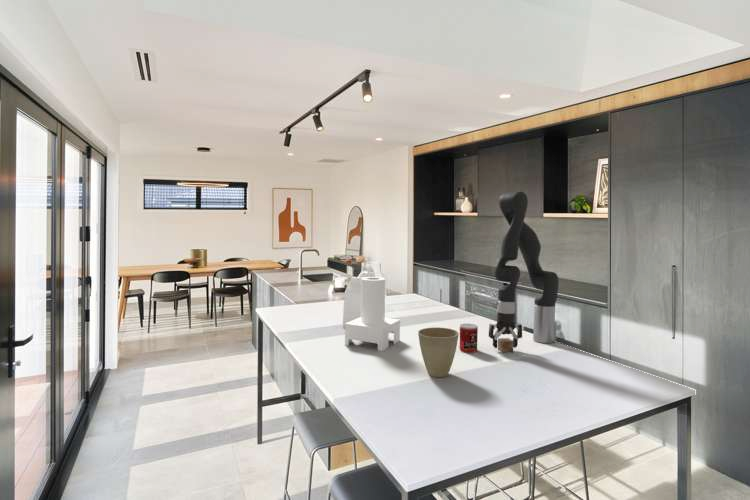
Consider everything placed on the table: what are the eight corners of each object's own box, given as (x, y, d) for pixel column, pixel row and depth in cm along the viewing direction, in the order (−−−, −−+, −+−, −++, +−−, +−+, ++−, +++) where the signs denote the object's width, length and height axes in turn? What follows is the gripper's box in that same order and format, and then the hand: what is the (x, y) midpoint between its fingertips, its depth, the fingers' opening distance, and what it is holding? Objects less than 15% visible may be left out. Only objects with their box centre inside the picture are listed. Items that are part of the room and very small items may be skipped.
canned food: (464, 353, 191) (465, 328, 190) (456, 348, 199) (456, 323, 198) (480, 352, 193) (481, 327, 192) (471, 346, 201) (472, 322, 200)
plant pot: (453, 367, 174) (454, 326, 173) (461, 381, 159) (462, 337, 158) (415, 367, 174) (415, 327, 172) (420, 381, 159) (420, 337, 158)
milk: (342, 327, 234) (342, 278, 232) (350, 322, 245) (350, 275, 243) (364, 329, 231) (364, 279, 228) (370, 324, 242) (371, 276, 239)
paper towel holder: (344, 345, 203) (344, 279, 200) (365, 335, 219) (365, 274, 217) (381, 351, 194) (382, 282, 191) (399, 340, 210) (400, 277, 208)
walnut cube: (508, 349, 198) (508, 338, 198) (513, 352, 193) (513, 341, 193) (497, 349, 198) (498, 338, 197) (501, 352, 193) (502, 341, 192)
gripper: (518, 309, 198) (517, 344, 199) (487, 309, 197) (486, 345, 198) (525, 312, 191) (524, 349, 192) (493, 313, 190) (491, 350, 191)
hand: (504, 347), depth 195 cm, fingers open, 8 cm apart
